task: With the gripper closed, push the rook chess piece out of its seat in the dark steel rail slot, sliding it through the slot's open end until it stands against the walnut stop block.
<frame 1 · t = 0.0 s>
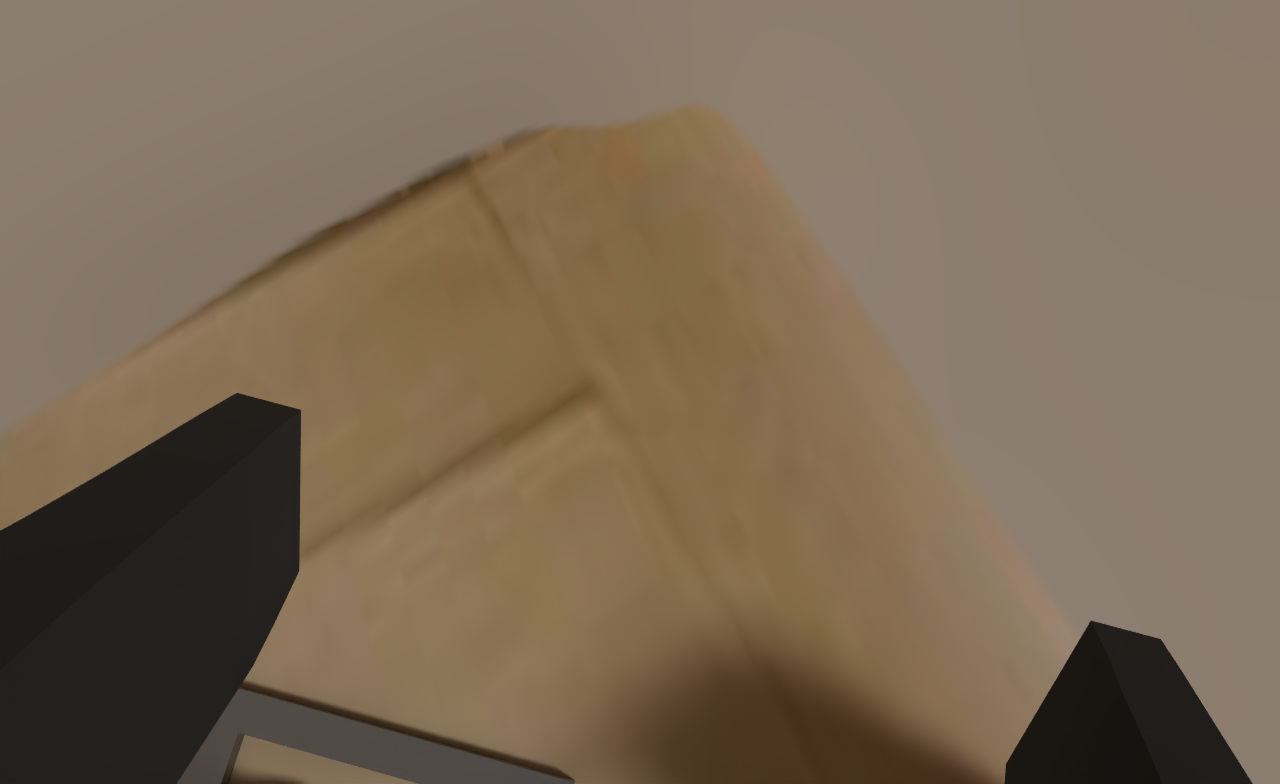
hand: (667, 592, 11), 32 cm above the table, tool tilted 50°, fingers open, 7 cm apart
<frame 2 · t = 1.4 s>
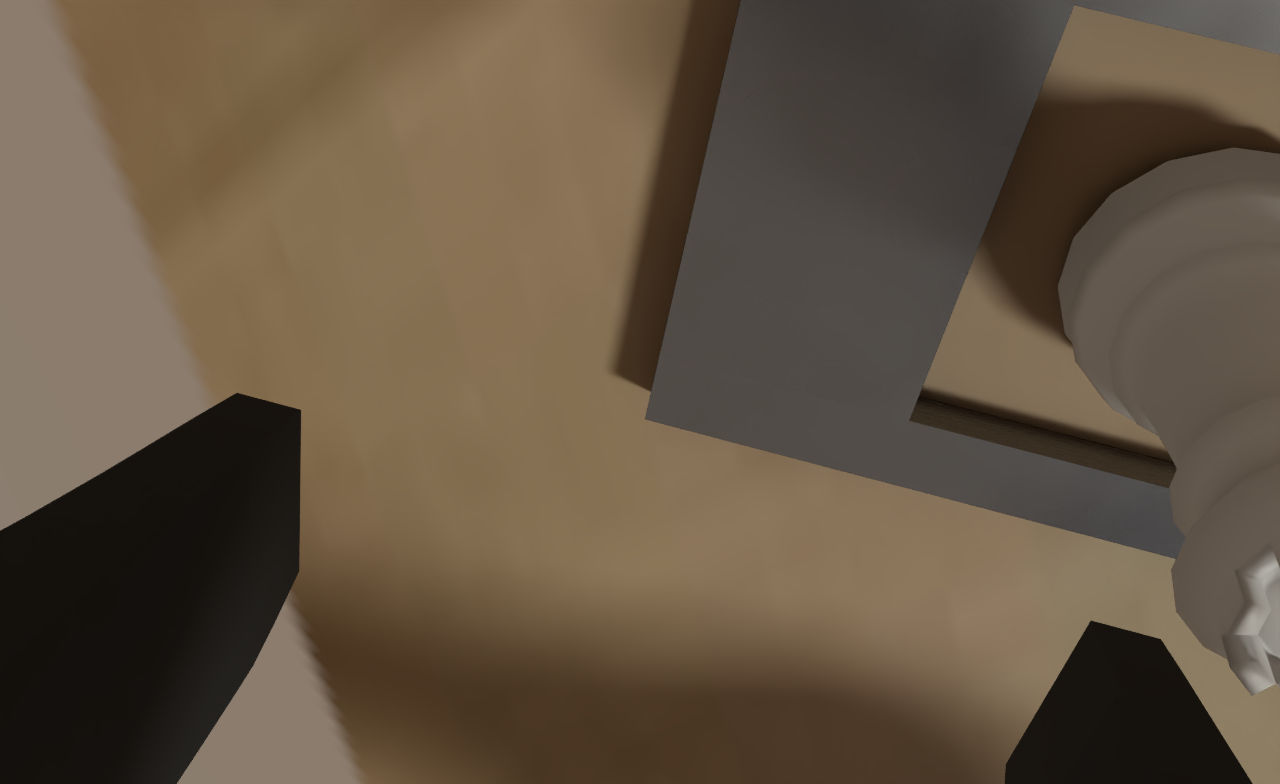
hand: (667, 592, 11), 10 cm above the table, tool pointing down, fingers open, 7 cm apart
rail: (1205, 270, 18), on the table
rook chess piece: (1202, 263, 19), resting in rail
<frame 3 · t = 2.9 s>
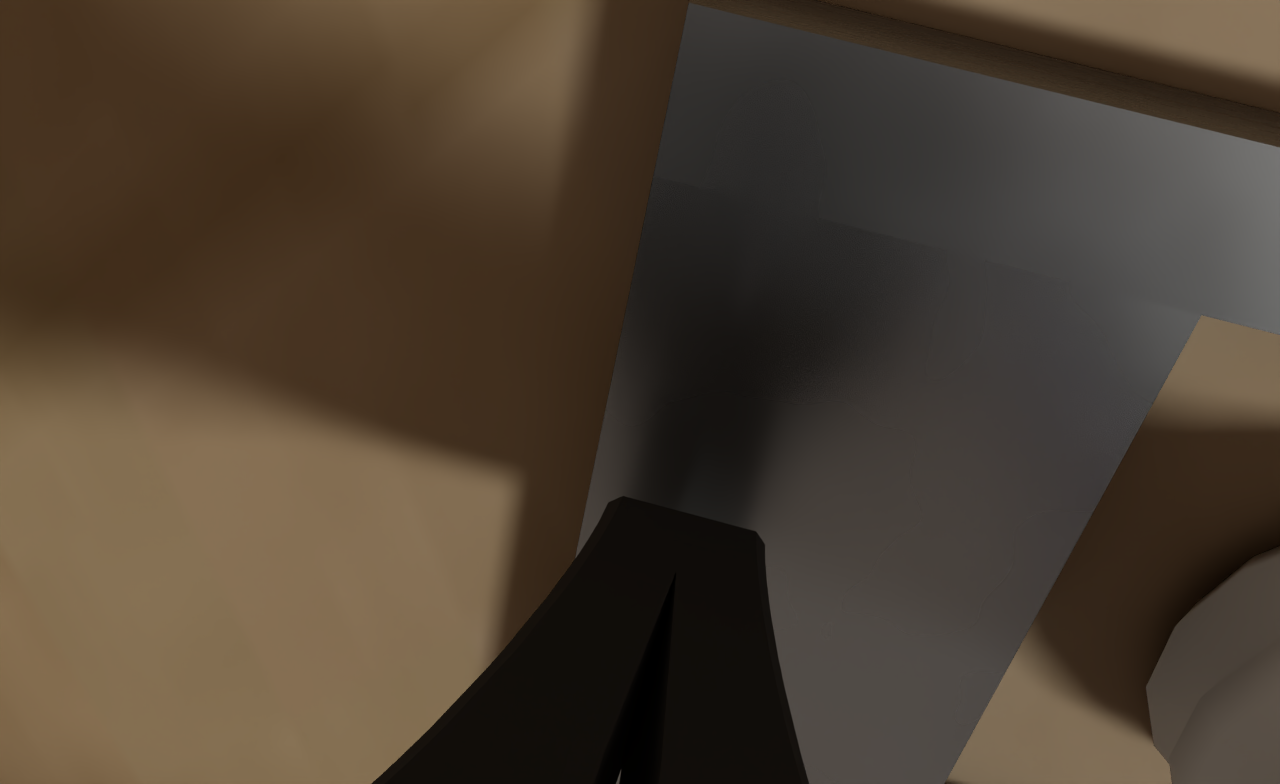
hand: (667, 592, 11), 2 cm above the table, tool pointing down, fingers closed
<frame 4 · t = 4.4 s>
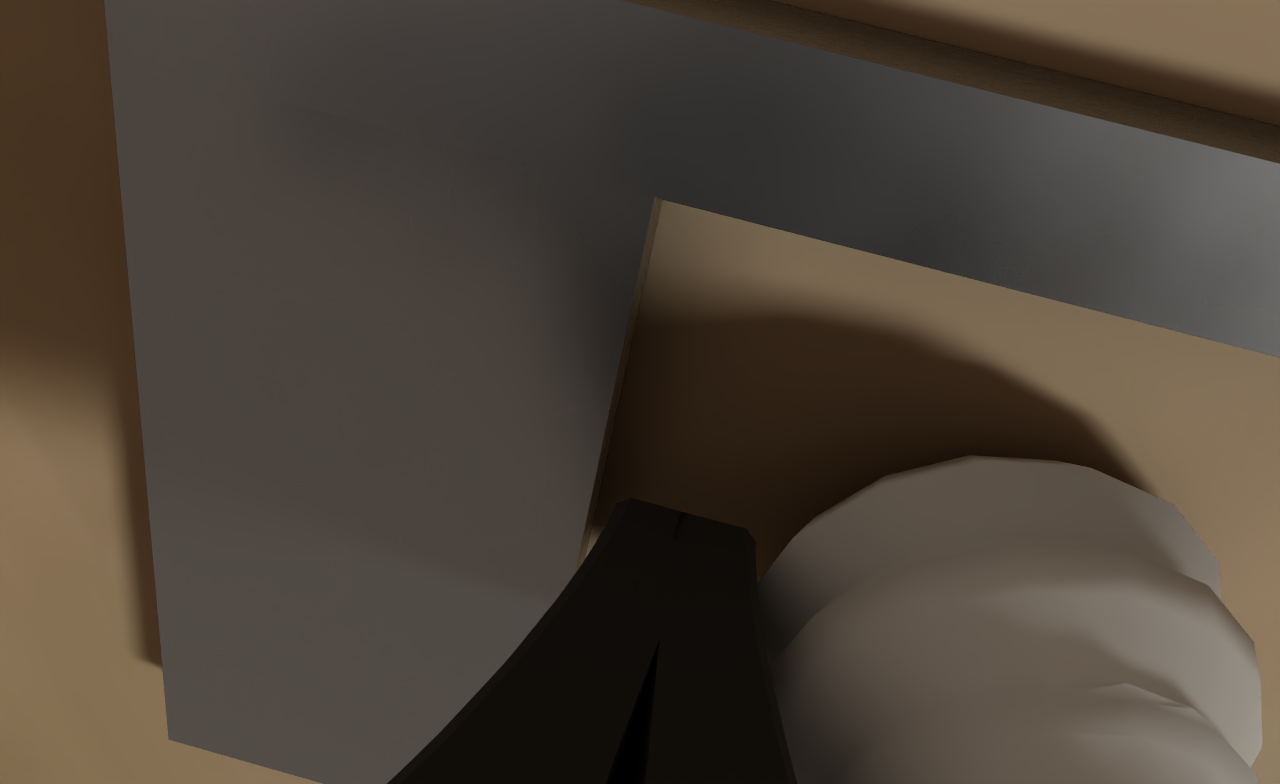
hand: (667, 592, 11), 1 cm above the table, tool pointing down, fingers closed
rail: (954, 579, 12), on the table
rook chess piece: (956, 594, 11), resting in rail, touching gripper
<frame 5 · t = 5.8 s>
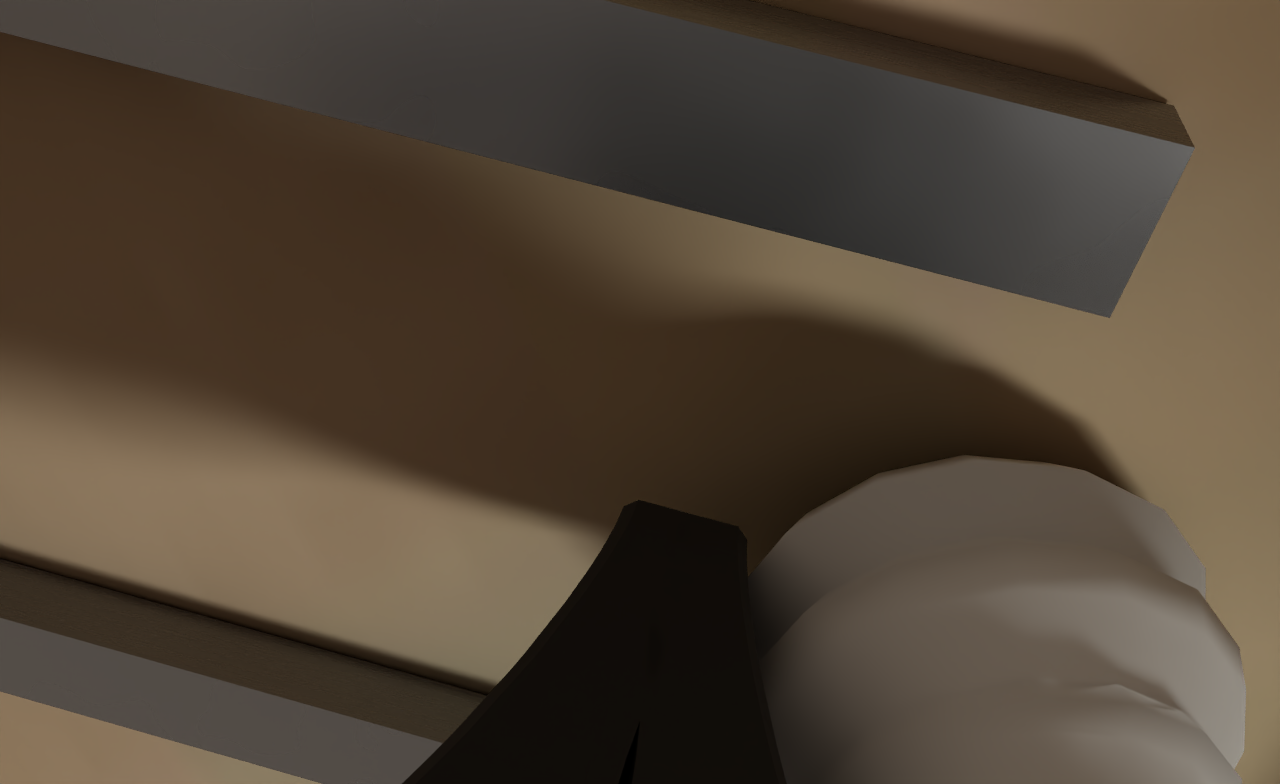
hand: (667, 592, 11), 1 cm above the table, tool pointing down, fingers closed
rail: (178, 371, 12), on the table
rook chess piece: (942, 594, 11), on the table, touching gripper
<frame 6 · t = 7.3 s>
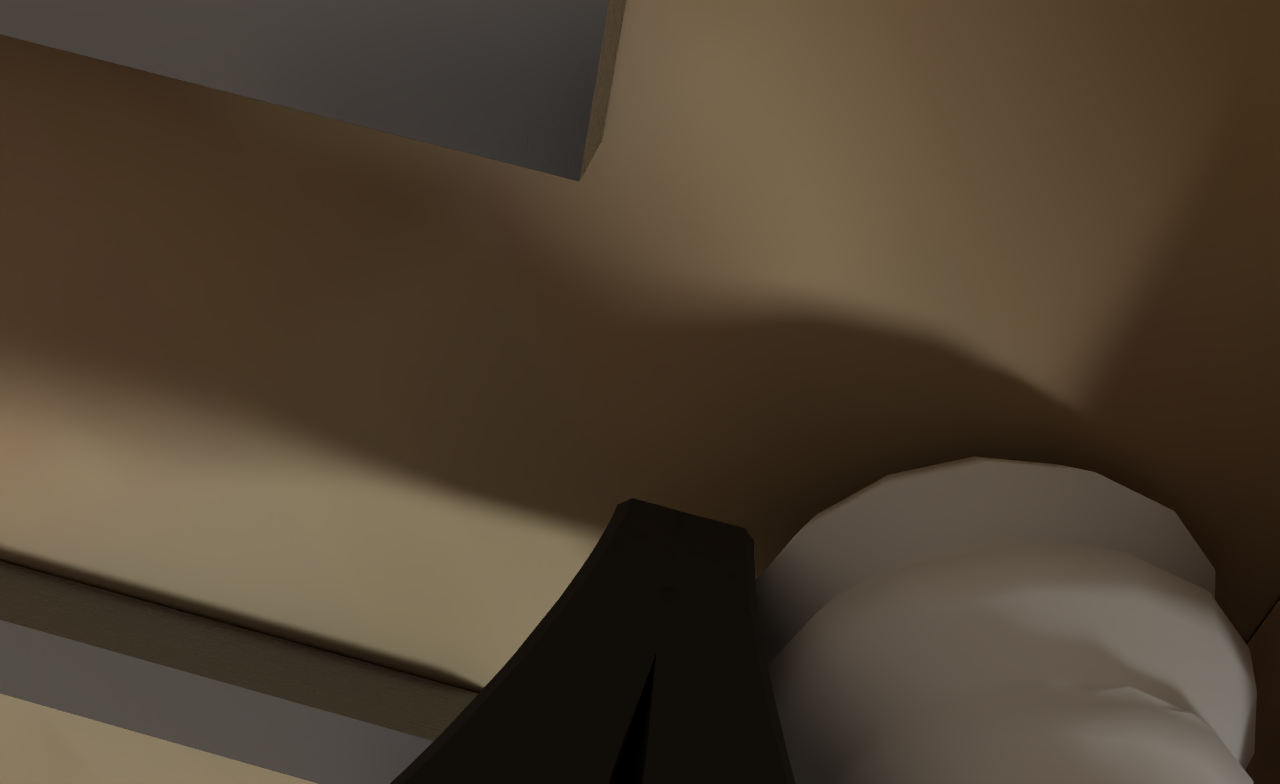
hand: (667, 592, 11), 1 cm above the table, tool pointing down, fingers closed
rook chess piece: (951, 595, 11), on the table, touching gripper
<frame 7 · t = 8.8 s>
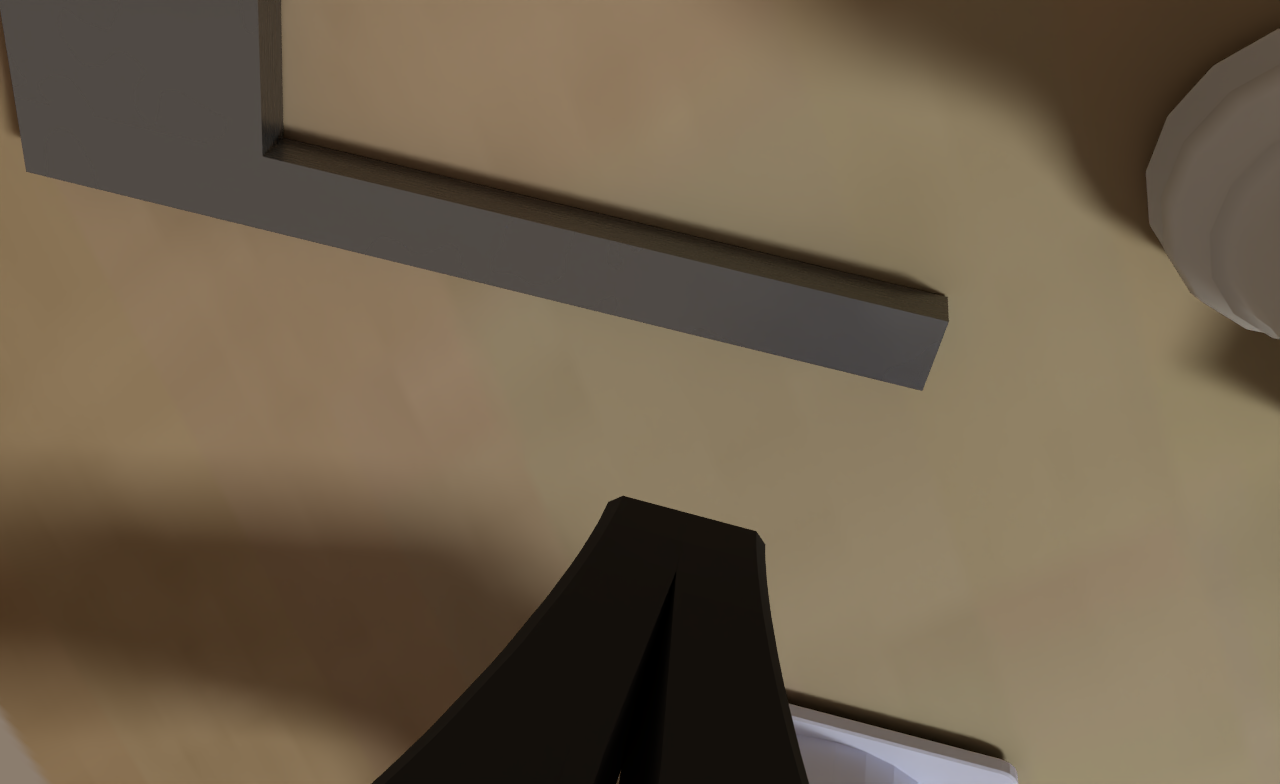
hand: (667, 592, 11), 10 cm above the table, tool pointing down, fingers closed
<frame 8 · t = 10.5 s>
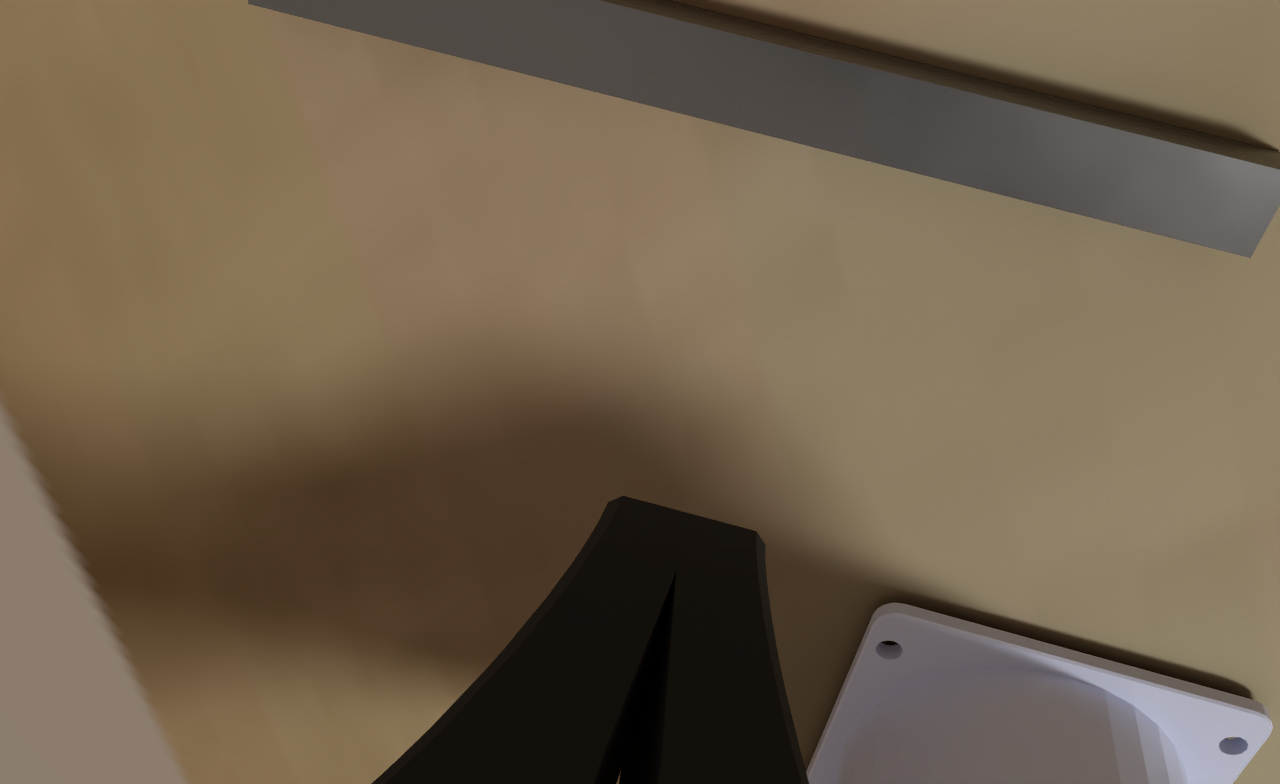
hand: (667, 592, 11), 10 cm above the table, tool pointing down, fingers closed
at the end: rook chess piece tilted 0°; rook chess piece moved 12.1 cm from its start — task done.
